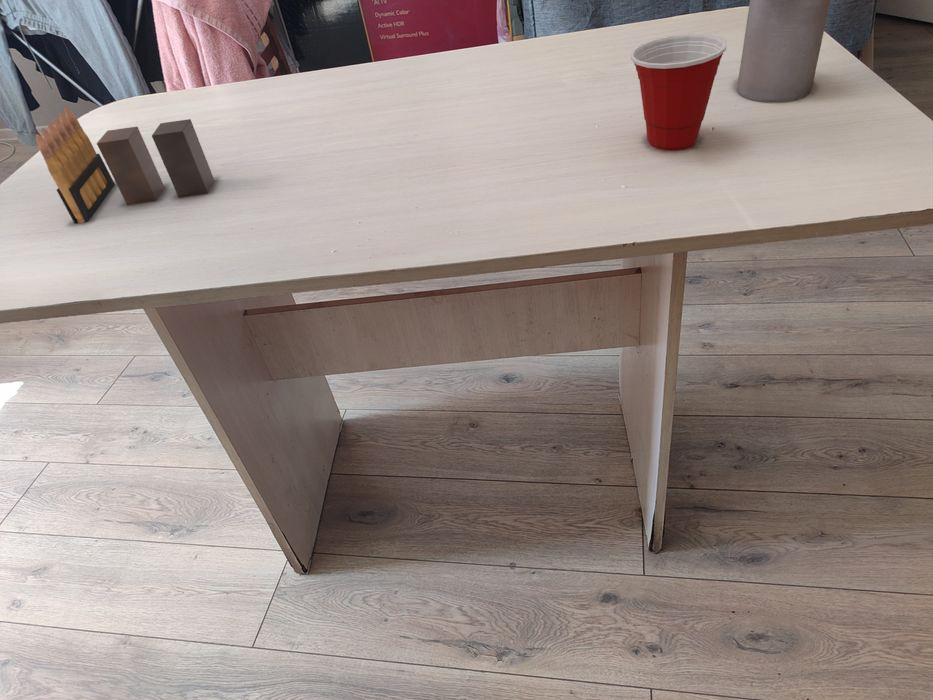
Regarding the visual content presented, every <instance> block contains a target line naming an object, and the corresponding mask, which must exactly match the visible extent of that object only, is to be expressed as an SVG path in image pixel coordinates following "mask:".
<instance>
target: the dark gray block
mask: <svg viewBox="0 0 933 700" xmlns="http://www.w3.org/2000/svg"><path fill="white" fill-rule="evenodd" d="M151 138H152V140H153V142H154V144H155V147H156V149H157V151H158V153H159V156H160V158H161V160H162V163H163V165H164V168H165V170H166V172H167V174H168V177H169V179H170V182H171V183H172V185H173V188H174V190H175V192H176V195H177V197H178V199H179V198H186V197H193V196H194V197H195V196H200V195H201V196H202V195H208V194H209V192H210V190H211V189H212V186H213V184H214V182H215V178H214V175H213V173H212V170H211V168H210V165H209V163H208V160H207V158H206V154H205V152H204V150H203V147H202V145H201V142H200V139H199V137H198V135H197V132H196V129H195V126H194V124H193V122H192V119H190V118H188V119H181V120H173V121H165V122H161V123H159V124H158V126H157V127H156V129H155V130H154V132H153V133H152V134H151Z"/></svg>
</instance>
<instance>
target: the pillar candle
mask: <svg viewBox="0 0 933 700" xmlns="http://www.w3.org/2000/svg"><path fill="white" fill-rule="evenodd" d="M830 6H831V0H749V4H748V12H747V17H746V24H745V32H744V39H743V45H742V46H743V47H742V52H741V58H740V65H739V73H738V77H737V78H738V79H737V85H736V91H737V93H738V94H739V95H740V96H742V97H744V98H746V99H748V100H752V101H754V102H755V101H756V102H780V103H781V102H782V103H785V102H786V103H787V102H793V101H797V100H799V99H803V98H804V97H805V98H806V97H807V96H808V95H809V94H810V93H811V90H812V89H813V87H814V80H815V77H816V72H817V71H816V70H817V65H818V61H819V57H820V52H821V47H822V43H823V38H824V34H825V33H824V32H825V28H826V24H827V19H828V14H829V9H830Z"/></svg>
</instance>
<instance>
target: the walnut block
mask: <svg viewBox="0 0 933 700" xmlns="http://www.w3.org/2000/svg"><path fill="white" fill-rule="evenodd" d="M96 145H97V148H98V149H99V152H100V153H101V155H102V158H103V160H104V161H105V164H106V165H107V167H108V170H109V172H110V173H111V176H112V178H113V180H114V183H115V185H116V186H117V187H118V190H119V191H120V194H121V196H122V198H123V200H124V202H125V204H126V205H127V206H129V205H135V204H141V203H142V204H143V203H149V202H156V201H158V199H159V197H160V196H161V194H162V192H163V190H164V188H165V185H164V183H163V179H162V178H161V176H160V174H159V171H158V170H157V167H156V165H155V162H154V160H153V158H152V156H151V154H150V152H149V149H148V146H147V144H146V142H145V140H144V137H143V136H142V133H141V132H140V129H139V126H130V127H124V128H116V129H110V130H109V129H108V130H107V131H106V132H105V133H104V134H103V135H102V136H101V137H100V139H99V140H98V141H97V142H96Z"/></svg>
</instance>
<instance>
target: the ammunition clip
mask: <svg viewBox="0 0 933 700" xmlns="http://www.w3.org/2000/svg"><path fill="white" fill-rule="evenodd" d="M58 117H59V118H57V117H56V116H53V118H52V119H53V120H52V121H53V123H51V122H47V128H46V129H45V127H42V128H41V134H42V136H41V135H40V134H39V133H36V134H35V140H36V143H37V146H38V149H39V152H40V154H41V155H42V157H43V160H44V162H45V164H46V166H47V170H48V172H49V174H50V175H51V178H52V180H53V181H54V183H55V185H56V186H57V189H56V192H57V194H58V195H59V198H60V199H61V201H62V204H63V205H64V207H65V209H66V210H67V212H68V214H69V216H70V218H71V220H72V222H73V224H77V223H79V224H82V223H88V222H90V220H91V219H92V217H93V216H94V215H95V213H96V211H97V210H98V209H99V207H100V206H101V205H102V203H103V202H104V200H105V199H106V198H107V196H109V193H110V192H111V191H112V189H113V188H114V187H115V185H116V182H115V180H114V178H113V176H112V174H110V173H111V172H110V171H109V169H108V168H107V166H106V163H105V162H104V159H103V157H102V156H101V155H100V153H97V152H96V150H95V147H94V145H93V143H92V141H91V140H90V138H89V136H88V135H87V133H86V132H85V131H84V129H83V127H82V126H81V123H80V122H79V120H78V118H77V116H76V115H75V114H74V112H73V111H72V110H71V109H70V108H69V107H68V106H67V105H65V106H64V113H63V112H62V111H59V112H58ZM47 129H48V130H47Z"/></svg>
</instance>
